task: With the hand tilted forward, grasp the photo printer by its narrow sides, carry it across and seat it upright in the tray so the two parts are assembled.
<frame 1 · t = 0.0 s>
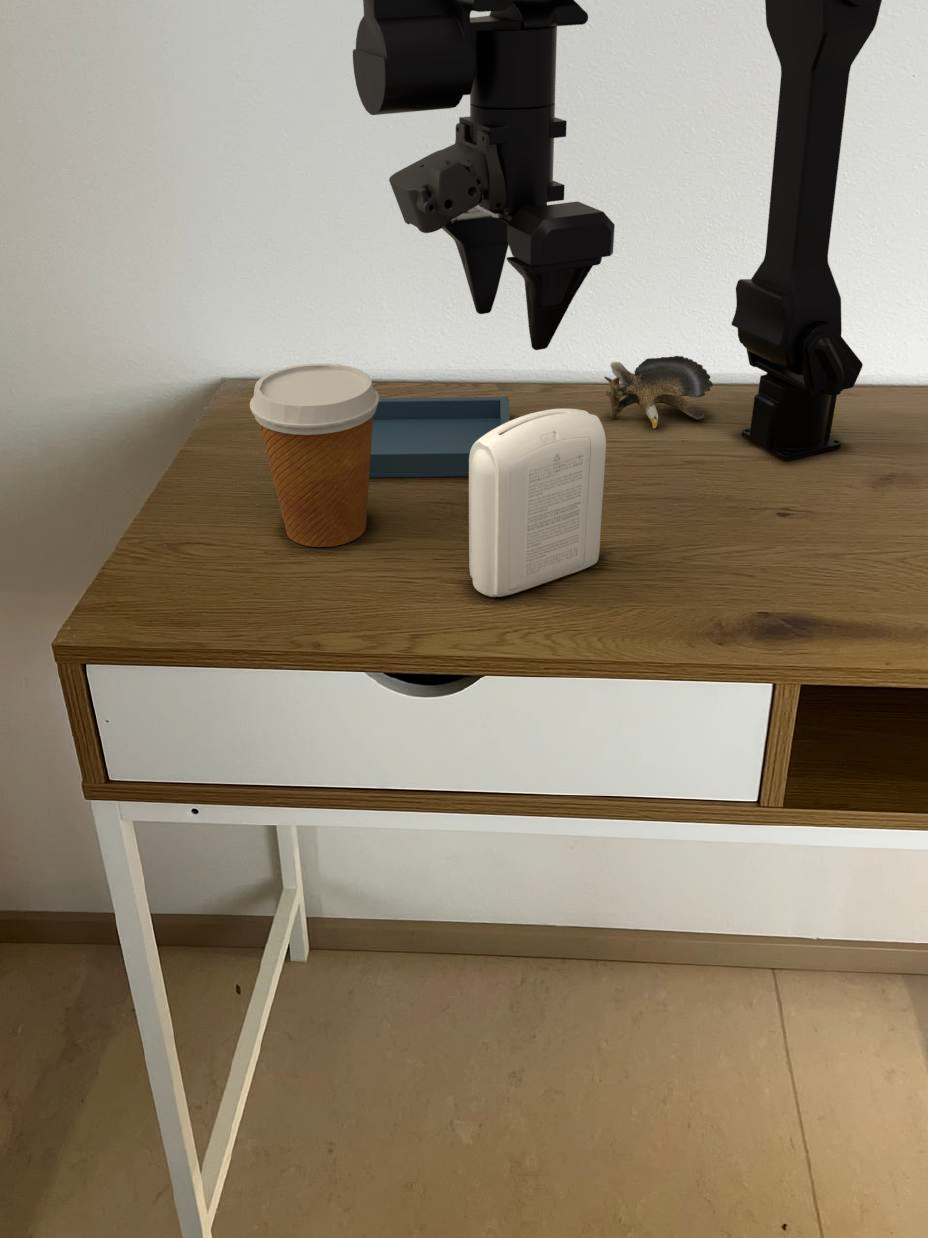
hand: (510, 330, 85), 15 cm above the table, tool pointing down, fingers open, 9 cm apart
eagle figurine: (653, 421, 108), on the table
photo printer: (535, 575, 84), on the table
tray: (413, 446, 103), on the table
disposable coffee cup: (326, 530, 90), on the table
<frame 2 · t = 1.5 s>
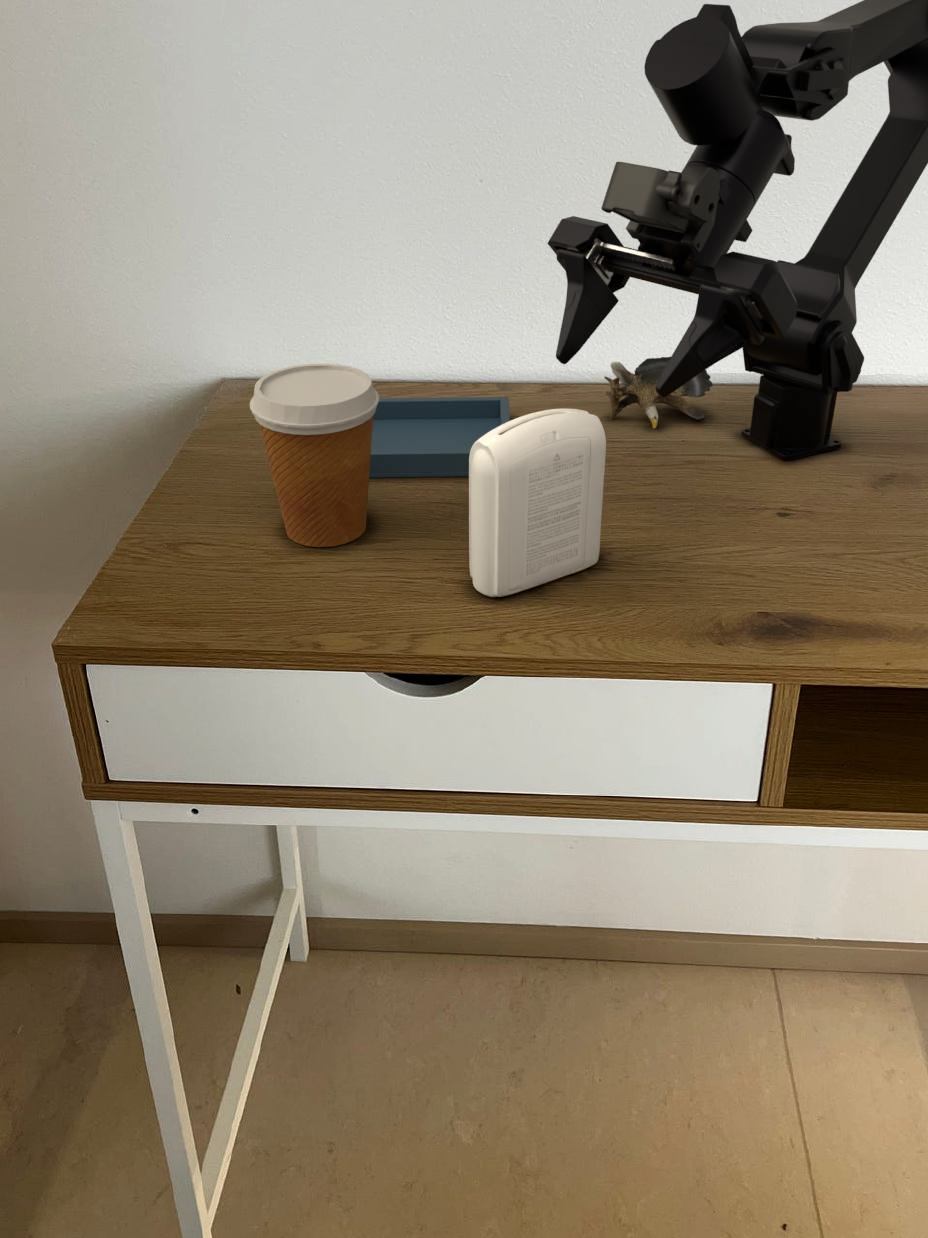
hand: (608, 376, 81), 13 cm above the table, tool tilted 45°, fingers open, 9 cm apart
nothing on the table moved.
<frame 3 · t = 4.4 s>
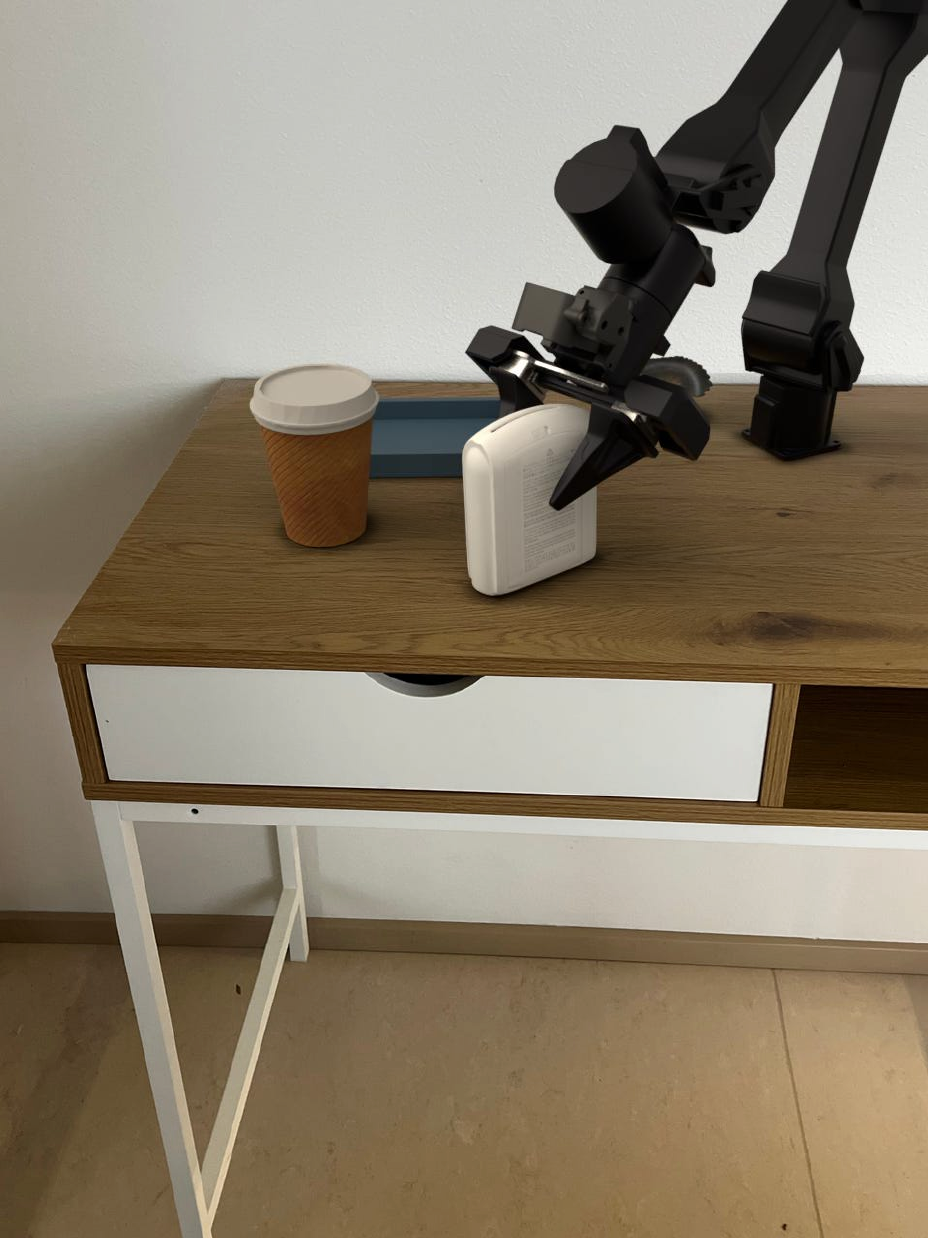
hand: (521, 493, 79), 7 cm above the table, tool tilted 45°, fingers closed on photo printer, 5 cm apart
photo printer: (533, 572, 84), on the table, touching gripper
everything else where it was.
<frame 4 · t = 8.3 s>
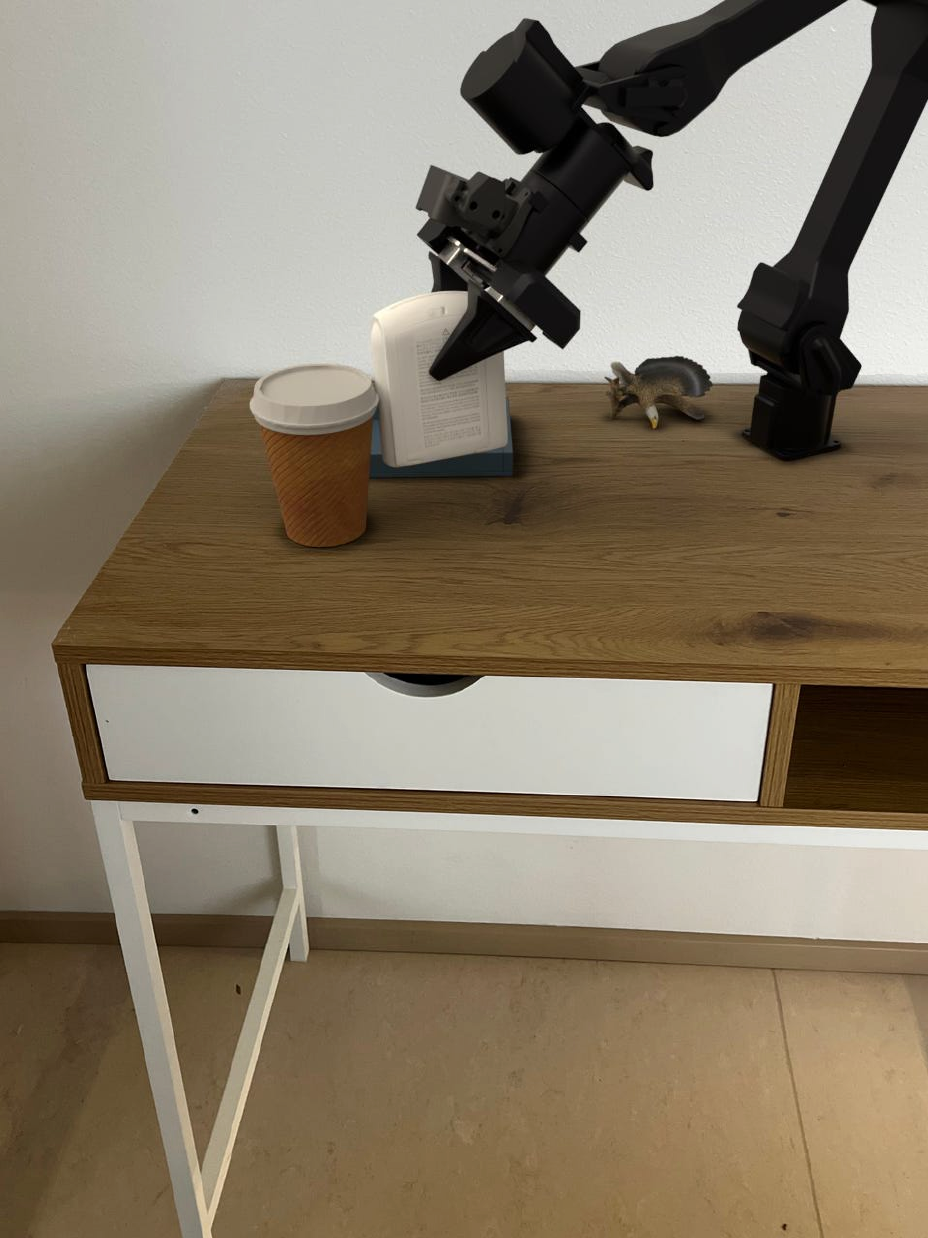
hand: (422, 366, 86), 12 cm above the table, tool tilted 45°, fingers closed on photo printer, 4 cm apart
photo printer: (446, 455, 90), point 5 cm above the table, touching gripper
everything else where it was.
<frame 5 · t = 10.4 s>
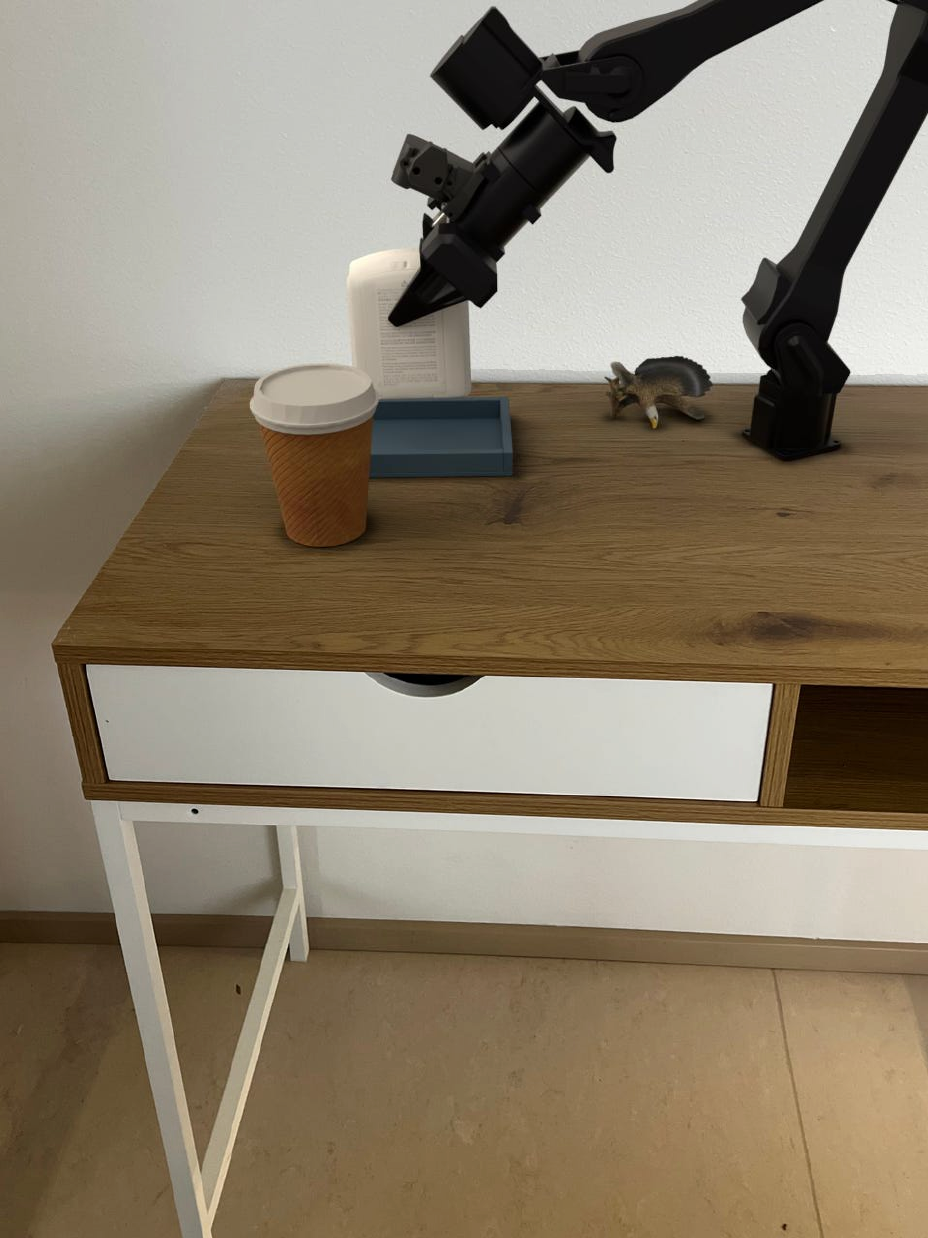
hand: (393, 314, 97), 12 cm above the table, tool tilted 45°, fingers closed on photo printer, 4 cm apart
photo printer: (414, 397, 100), point 5 cm above the table, touching gripper
everything else where it was.
when the fingers open (8 cm above the table, at t = 12.2 s): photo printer stays where it is, resting on tray.
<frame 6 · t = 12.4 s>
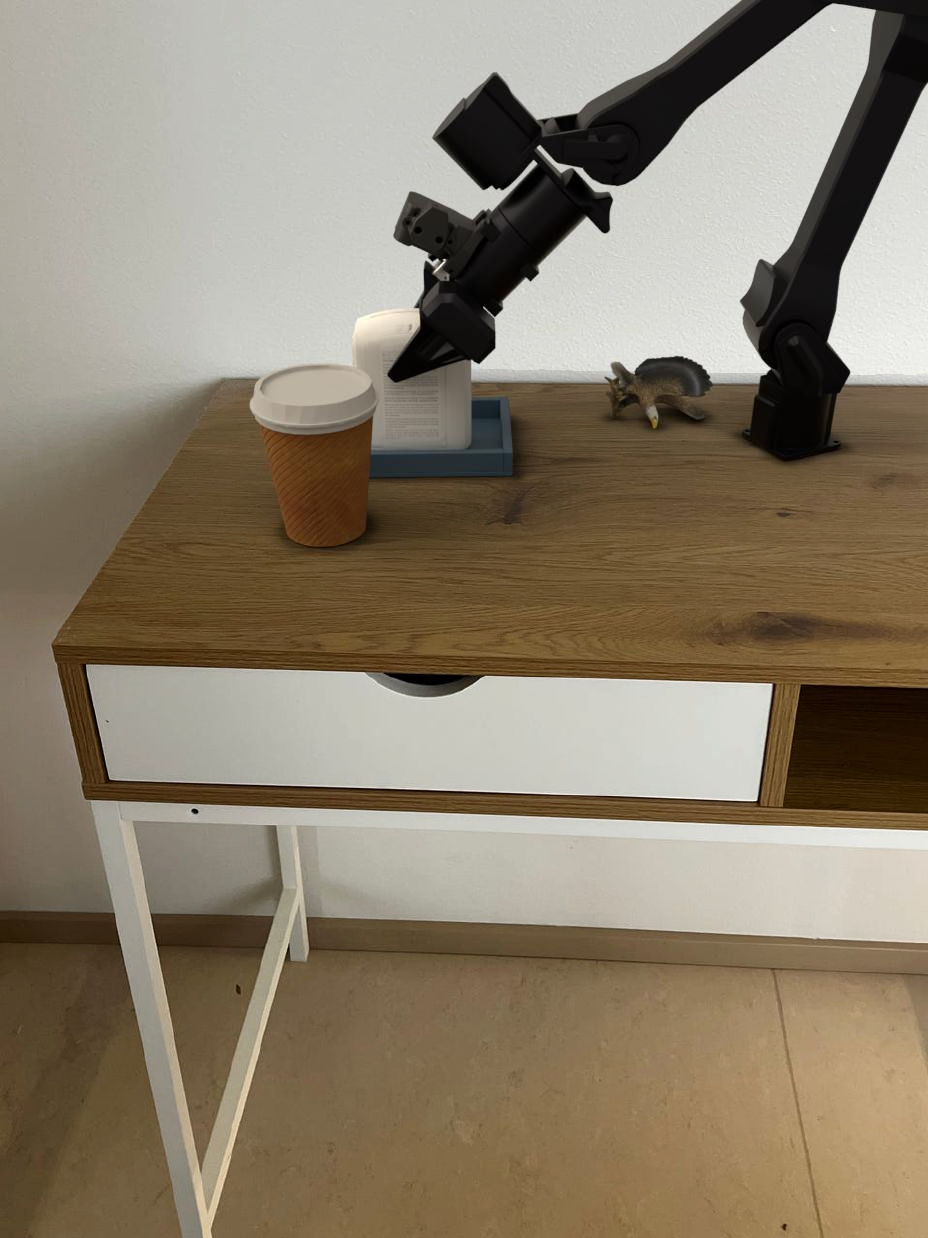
hand: (393, 363, 99), 8 cm above the table, tool tilted 45°, fingers open, 7 cm apart
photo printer: (415, 446, 103), resting on tray, touching gripper
everything else where it was.
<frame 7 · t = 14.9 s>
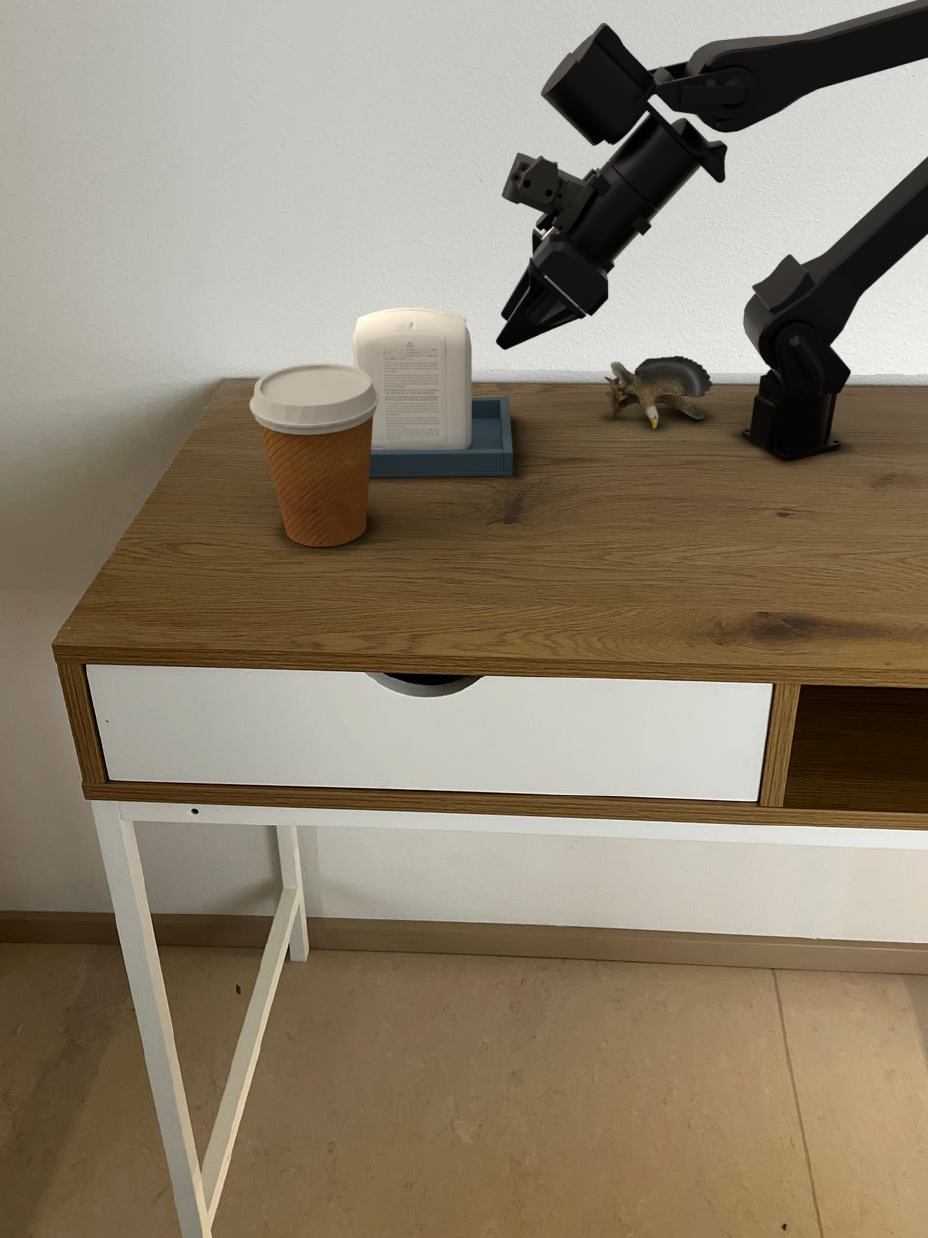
hand: (502, 331, 97), 11 cm above the table, tool tilted 40°, fingers open, 9 cm apart
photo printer: (415, 447, 103), resting on tray
everything else where it was.
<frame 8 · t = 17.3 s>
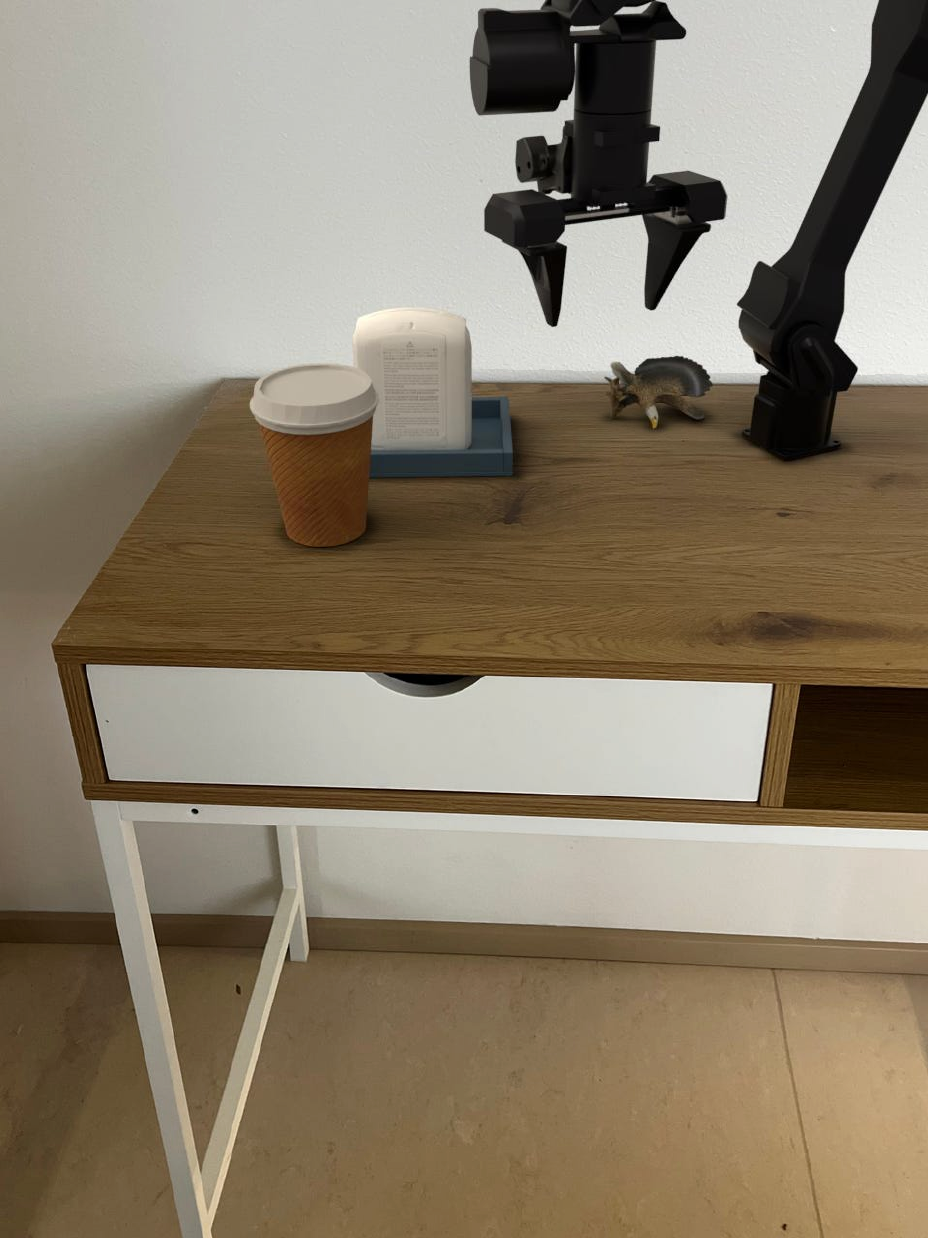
hand: (601, 316, 93), 13 cm above the table, tool pointing down, fingers open, 9 cm apart
nothing on the table moved.
at the end: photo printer inside the target area in the tray (0.6 cm from its centre), point 0.2 cm above the tray's base; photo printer tilted 0°; the gripper is holding nothing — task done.
